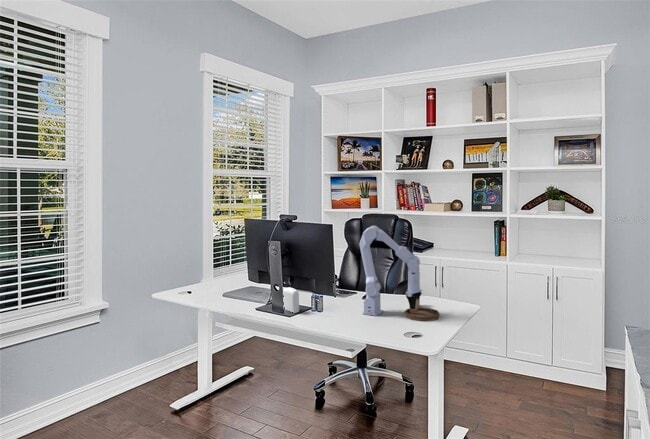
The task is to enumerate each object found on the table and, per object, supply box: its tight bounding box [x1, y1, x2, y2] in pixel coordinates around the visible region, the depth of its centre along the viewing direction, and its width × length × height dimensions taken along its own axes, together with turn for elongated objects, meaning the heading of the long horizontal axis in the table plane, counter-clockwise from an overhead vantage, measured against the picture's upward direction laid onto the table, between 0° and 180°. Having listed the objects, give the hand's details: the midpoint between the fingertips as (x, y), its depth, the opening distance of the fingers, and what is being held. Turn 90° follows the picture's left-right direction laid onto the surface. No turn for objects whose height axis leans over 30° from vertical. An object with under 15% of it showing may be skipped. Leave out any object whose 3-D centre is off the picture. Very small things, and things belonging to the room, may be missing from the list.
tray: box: [404, 306, 440, 322], centre depth 227 cm, size 16×16×2 cm
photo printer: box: [282, 286, 300, 314], centre depth 240 cm, size 10×4×12 cm, turn 39°
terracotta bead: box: [408, 299, 418, 312], centre depth 229 cm, size 4×4×6 cm
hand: (413, 307), depth 229 cm, fingers closed on terracotta bead, 4 cm apart
